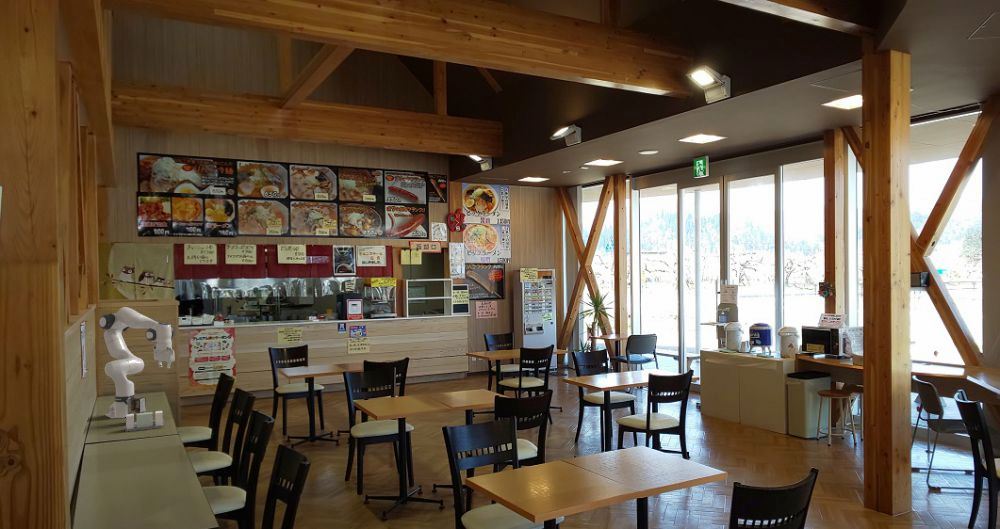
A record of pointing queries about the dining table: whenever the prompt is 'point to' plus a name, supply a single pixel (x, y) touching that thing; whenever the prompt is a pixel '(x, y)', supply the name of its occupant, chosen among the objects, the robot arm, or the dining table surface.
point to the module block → (144, 419)
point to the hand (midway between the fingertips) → (164, 367)
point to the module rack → (133, 426)
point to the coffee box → (136, 406)
